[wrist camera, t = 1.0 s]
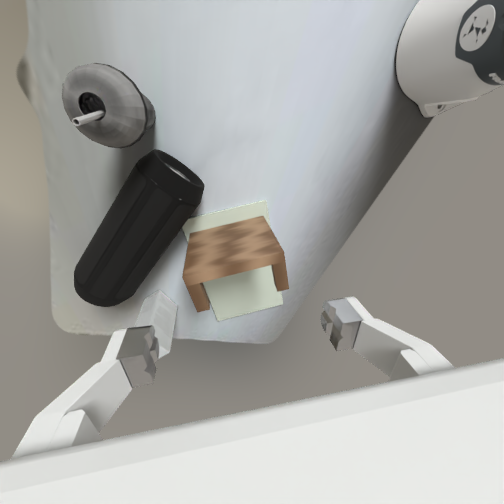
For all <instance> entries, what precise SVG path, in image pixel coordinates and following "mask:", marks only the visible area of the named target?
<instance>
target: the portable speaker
mask: <svg viewBox="0 0 504 504" xmlns="http://www.w3.org/2000/svg"><path fill="white" fill-rule="evenodd" d="M203 191H204V183H203V182H202V181H201V179H200V178H199V177H198V176H197V175H196V174H195V173H194V172H192V171H191V170H190V169H189V168H188V167H186V166H185V165H184V164H182V163H181V162H180V161H178V160H177V159H175V158H173V157H172V156H170V155H168V154H167V153H165V152H162V151H160V150H156V149H155V150H153V151H151V152H150V153H149V154H147V155H146V156H144V157H143V158H142V159H140V160H139V161H138V163H136V165H135V167H134V168H133V170H132V172H131V173H130V175H129V177H128V179H127V180H126V182H125V184H124V185H123V187H122V189H121V190H120V192H119V194H118V196H117V197H116V199H115V201H114V202H113V204H112V206H111V207H110V209H109V211H108V213H107V214H106V216H105V218H104V219H103V221H102V223H101V225H100V226H99V228H98V230H97V231H96V233H95V235H94V236H93V238H92V240H91V242H90V243H89V245H88V247H87V248H86V250H85V252H84V254H83V255H82V257H81V259H80V260H79V262H78V264H77V265H76V268H75V271H74V287H75V290H76V292H77V294H78V295H79V296H80V297H81V298H82V299H83V300H85V301H87V302H88V303H91V304H93V305H97V306H102V307H110V306H115V305H118V304H120V303H121V302H123V301H125V300H127V299H128V298H130V297H131V296H133V295H134V293H135V292H136V290H137V289H138V287H139V286H140V285H141V283H142V282H143V280H144V279H145V278H146V276H147V275H148V274H149V272H150V271H151V269H152V268H153V267H154V265H155V264H156V262H157V261H158V260H159V258H160V257H161V256H162V255H163V254H164V252H165V251H166V249H167V248H168V246H169V245H170V243H171V242H172V240H173V239H174V238H175V236H176V235H177V234H178V232H179V231H180V229H181V228H182V227H183V225H184V224H185V223H186V221H187V220H188V218H189V217H190V216H191V214H192V213H193V212H194V210H195V209H196V207H197V206H198V205H199V204H200V202H201V198H202V194H203Z"/></svg>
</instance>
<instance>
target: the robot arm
mask: <svg viewBox="0 0 504 504" xmlns="http://www.w3.org/2000/svg"><path fill="white" fill-rule="evenodd" d="M396 71H397V77H398V81H399V84H400V86H401V88H402V90H403V92H404V93H405V94H406V95H407V96H408V97H409V98H410V99H412V100H413V101H415V102H416V103H417V104H418V106H419V108H420V111H421V113H422V115H423V116H424V117H426V118H427V117H433V116H436V115H437V114H440V113H442V112H444V111H447V110H449V109H451V108H453V107H456V106H458V105H460V104H462V103H464V102H467V101H473V100H477V99H478V98H479V97H480V96H482V95H484V94H487V93H488V92H491V91H493V90H494V89H496V88H498V87H500V86H502V85H504V0H420V1H419V2H418V3H417V5H416V6H415V7H414V9H413V11H412V12H411V14H410V16H409V17H408V19H407V21H406V24H405V26H404V28H403V31H402V34H401V37H400V40H399V44H398V49H397V57H396ZM438 105H439V106H438ZM437 106H438V108H437ZM323 308H324V312H323V313H322V315H321V324H322V327H323V329H324V331H325V333H327V334H329V335H330V341H331V343H332V345H333V346H334V348H335V350H336V351H341V350H348V349H353V350H354V351H356V352H357V353H358V354H360V355H361V356H362V357H364V358H365V359H366V360H368V361H369V362H370V363H372V364H373V365H375V366H376V367H377V368H378V369H380V370H381V371H383V372H384V373H385V374H387V375H388V376H389V377H390V378H389V380H388V382H385V383H380V384H376V385H371V386H366V387H361V388H356V389H351V390H346V391H341V392H337V393H332V394H327V395H322V396H317V397H313V398H308V399H302V400H298V401H293V402H288V403H283V404H278V405H274V406H268V407H264V408H259V409H254V410H249V411H244V412H240V413H234V414H229V415H225V416H220V417H215V418H210V419H206V420H200V421H195V422H191V423H186V424H181V425H176V426H171V427H166V428H162V429H156V430H151V431H147V432H142V433H137V434H132V435H127V436H122V437H117V438H112V439H107V440H103V439H102V437H101V436H100V434H99V432H100V431H101V430H102V428H103V427H104V426H105V424H106V423H107V422H108V420H109V419H110V418H111V416H112V415H113V414H114V413H115V411H116V410H117V409H118V407H119V406H120V404H121V403H122V402H123V401H124V399H125V398H126V397H127V395H128V394H129V393H130V391H131V390H132V388H133V387H139V386H143V385H148V384H153V383H154V378H155V373H156V367H155V363H156V361H157V360H158V357H159V342H158V338H156V337H155V336H154V335H155V329H154V326H152V325H150V326H141V327H133V328H127V329H118V330H116V331H115V332H114V333H113V335H112V337H111V340H110V342H109V344H108V347H107V349H106V351H105V353H104V356H103V358H102V360H101V362H99V363H96V364H95V365H94V366H93V367H92V368H90V369H89V370H88V371H87V372H86V373H85V374H84V375H83V376H81V377H80V378H79V379H78V380H77V381H76V382H74V383H73V384H72V385H71V386H70V387H69V388H68V389H67V390H65V391H64V392H63V393H62V394H61V395H60V396H58V397H57V398H56V399H55V400H54V401H53V402H52V403H51V404H49V405H48V406H47V407H46V408H45V409H44V410H43V411H41V412H40V413H39V414H38V415H37V416H36V417H35V418H34V420H33V422H32V424H31V426H30V427H29V429H28V431H27V432H26V434H25V435H24V437H23V439H22V441H21V442H20V444H19V446H18V447H17V449H16V451H15V453H14V454H13V456H12V458H11V459H10V460H5V461H0V504H504V358H502V359H497V360H492V361H487V362H483V363H478V364H473V365H468V366H463V367H458V368H455V367H454V366H453V365H452V364H451V363H450V362H448V361H447V360H446V359H445V358H444V357H443V356H442V355H441V354H440V353H439V352H438V351H437V350H436V349H435V348H434V347H433V346H432V345H431V344H429V343H427V342H425V341H422V340H421V339H419V338H416V337H414V336H412V335H410V334H408V333H406V332H404V331H402V330H400V329H398V328H396V327H394V326H392V325H390V324H388V323H385V322H383V321H381V320H379V319H374V318H373V317H372V316H371V315H370V313H369V312H368V311H367V310H366V309H365V308H364V307H363V306H362V304H361V303H360V302H359V301H358V300H357V299H356V298H355V297H346V298H340V299H333V300H327V301H325V302H324V303H323Z"/></svg>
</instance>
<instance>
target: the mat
mask: <svg viewBox="0 0 504 504" xmlns="http://www.w3.org/2000/svg"><path fill="white" fill-rule="evenodd" d="M259 216H264V218H265V219H266V221H267V223H268V225H269V226H270V221H269V214H268V208H267V202H266V200H262V201H258V202H254V203H250V204H246V205H241V206H237V207H233V208H229V209H225V210H221V211H216V212H212V213H208V214H204V215H200V216H196V217H191V218H188V220H187V221H186V223H185V224H184V225H183V227H182V229H183V231H184V234H185V237H186V239H187V242H189V236H190V233H193V232H197V231H201V230H206V229H210V228H214V227H218V226H222V225H226V224H230V223H234V222H238V221H243V220H247V219H251V218H255V217H259ZM270 228H271V227H270ZM203 284H204V286H205V289H206V292H207V294H208V297H209V299H210V302H211V305H212V307H213V310H214V313H215V315H216V318H217V320H218V321H221V320H225V319H228V318H232V317H236V316H240V315H244V314H248V313H251V312H255V311H259V310H263V309H267V308H271V307H275V306H278V305H282V304H283V300H282V294H281V291H279V292H277V289H276V287H275V284H274V278H273V273H272V267H271V265H270V266H266V267H262V268H258V269H254V270H250V271H246V272H242V273H238V274H234V275H230V276H226V277H222V278H218V279H214V280H210V281H206V282H203Z"/></svg>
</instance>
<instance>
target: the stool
mask: <svg viewBox="0 0 504 504" xmlns="http://www.w3.org/2000/svg"><path fill="white" fill-rule="evenodd" d="M270 265H271V267H272V273H273V278H274V284H275V287H276V289H277V292H279V291H282V290H286V289H289V285H288V277H287V270H286V263H285V256H284V251H283V249H282V248H281V246H280V244H279V242H278V241H277V239H276V237H275V235H274V233H273V232H272V230H271V228H270V226H269V225H268V223H267V221H266V219H265V218H264V216H259V217H255V218H251V219H247V220H243V221H238V222H234V223H230V224H226V225H222V226H218V227H214V228H210V229H206V230H201V231H197V232H193V233H190V236H189V242H188V248H187V254H186V259H185V265H184V271H183V280H184V282H185V284H186V287H187V289H188V291H189V294H190V296H191V298H192V300H193V303H194V305H195V307H196V310H197V312H201V311H205V310H209V309H210V301H209V298H208V296H207V293H206V290H205V288H204V285H203V283H202V282H206V281H210V280H214V279H218V278H222V277H226V276H230V275H234V274H238V273H242V272H246V271H250V270H254V269H258V268H262V267H266V266H270Z"/></svg>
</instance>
